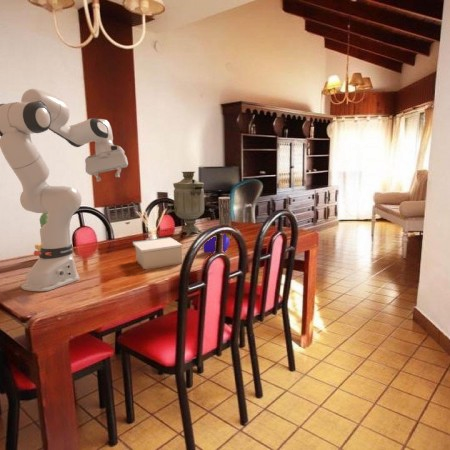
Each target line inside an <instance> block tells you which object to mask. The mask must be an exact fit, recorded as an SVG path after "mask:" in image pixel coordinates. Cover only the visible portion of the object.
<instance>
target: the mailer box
mask: <svg viewBox="0 0 450 450" xmlns="http://www.w3.org/2000/svg"><path fill="white" fill-rule="evenodd" d="M182 249H183V246H182V247H177V248H170V249H163V250H156V251H149V252H141V251H140V250H139V249H138V248H136V247H135V255H136V256H135V257H136V262H137V264H138V265H139V264H140V265H141V266H140V265H139V266H140V267H141V268H142V269H143V270H144V269H145V270H151V269H150V268H152V269H155V268H156V269H158V268H163V267H169V266H175V265H181V264H183V251H182ZM157 267H158V268H157Z"/></svg>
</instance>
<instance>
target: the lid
mask: <svg viewBox="0 0 450 450" xmlns="http://www.w3.org/2000/svg"><path fill="white" fill-rule="evenodd" d="M132 245H133V246H134V247H135V249H136V248H138V249H139V250H140V251H141V252H149V251H156V250H163V249H170V248H177V247H182V248H183V244H182V243H180V242H179V241H177V240H176V239H173V238H172V236H171V237H170V236H168V237H160V238H153V239H146V240H145V239H144V240H137V241H132Z"/></svg>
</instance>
